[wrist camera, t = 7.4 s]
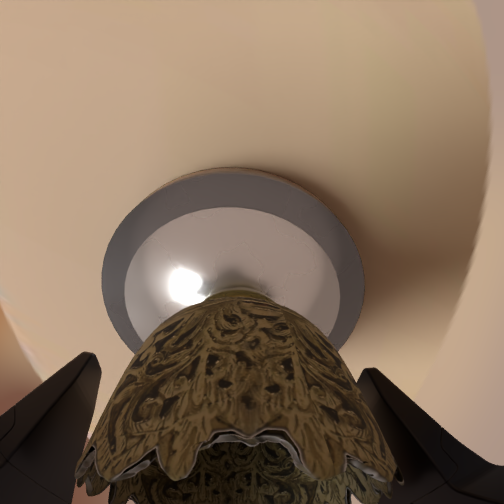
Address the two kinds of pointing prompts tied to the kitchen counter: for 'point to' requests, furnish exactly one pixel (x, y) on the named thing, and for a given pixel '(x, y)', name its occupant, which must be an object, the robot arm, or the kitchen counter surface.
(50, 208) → the kitchen counter surface
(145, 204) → the gray-rimmed plate
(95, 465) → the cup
